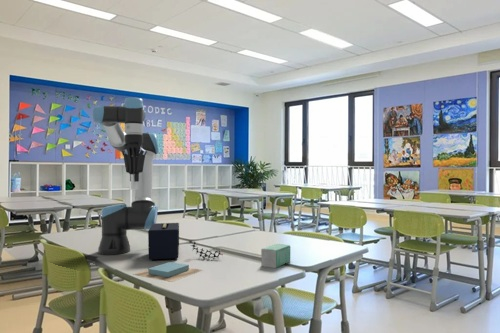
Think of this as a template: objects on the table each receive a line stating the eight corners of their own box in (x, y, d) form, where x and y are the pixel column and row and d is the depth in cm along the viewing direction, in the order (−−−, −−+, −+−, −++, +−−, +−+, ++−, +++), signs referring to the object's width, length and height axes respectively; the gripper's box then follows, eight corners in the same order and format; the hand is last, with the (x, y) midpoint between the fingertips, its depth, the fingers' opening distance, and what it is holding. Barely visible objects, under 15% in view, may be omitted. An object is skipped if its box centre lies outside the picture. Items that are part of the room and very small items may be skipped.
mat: (133, 275, 148) (133, 274, 148) (165, 265, 164) (165, 264, 164) (172, 283, 138) (172, 281, 138) (203, 271, 153) (203, 270, 153)
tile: (148, 268, 148) (167, 272, 143) (169, 261, 159) (188, 264, 153) (148, 274, 148) (167, 277, 143) (169, 267, 159) (188, 270, 153)
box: (291, 261, 169) (290, 244, 169) (276, 268, 158) (276, 250, 158) (276, 259, 173) (276, 242, 173) (261, 266, 162) (260, 248, 162)
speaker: (178, 261, 171) (178, 227, 171) (148, 263, 169) (148, 228, 169) (179, 251, 192) (178, 221, 192) (152, 252, 190) (152, 221, 190)
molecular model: (221, 261, 171) (221, 242, 171) (189, 260, 173) (189, 241, 174) (225, 258, 177) (224, 239, 177) (193, 257, 180) (193, 239, 180)
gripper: (116, 134, 165) (117, 189, 165) (138, 132, 158) (138, 190, 158) (130, 135, 172) (130, 188, 172) (151, 134, 165) (151, 189, 165)
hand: (134, 189), depth 165 cm, fingers closed
